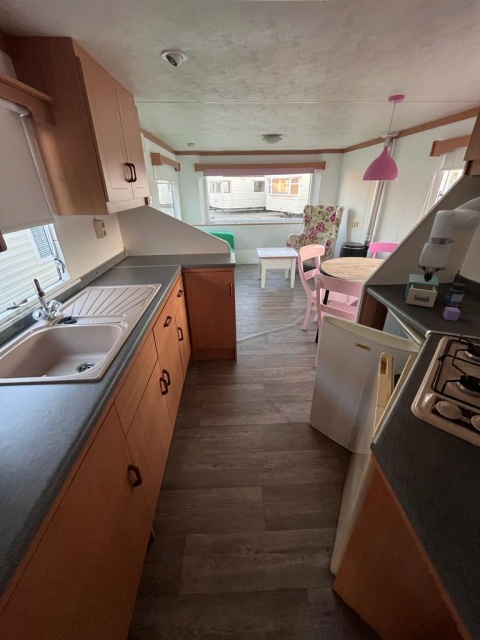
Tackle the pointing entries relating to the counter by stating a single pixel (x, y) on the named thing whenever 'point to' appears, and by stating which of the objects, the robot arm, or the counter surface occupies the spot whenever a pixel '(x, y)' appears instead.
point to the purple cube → (451, 313)
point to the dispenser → (421, 282)
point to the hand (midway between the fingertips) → (426, 280)
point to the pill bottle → (455, 295)
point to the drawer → (421, 295)
